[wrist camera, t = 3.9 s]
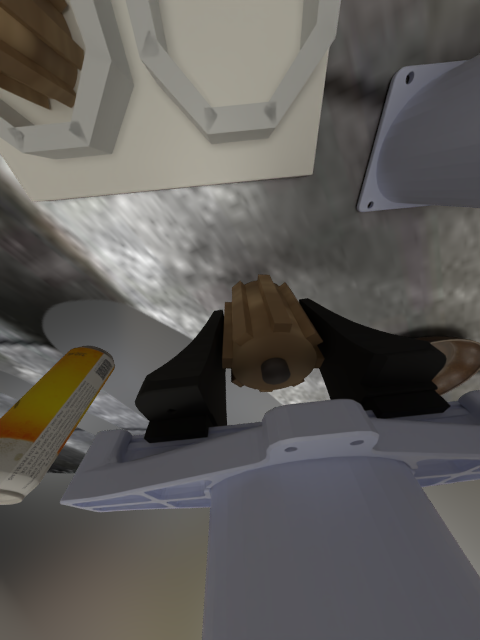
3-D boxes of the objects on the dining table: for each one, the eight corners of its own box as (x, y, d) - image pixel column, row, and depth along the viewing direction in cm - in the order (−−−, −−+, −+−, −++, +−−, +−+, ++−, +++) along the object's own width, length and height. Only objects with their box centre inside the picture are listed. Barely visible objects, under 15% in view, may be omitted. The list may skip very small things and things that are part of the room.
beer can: (61, 348, 25) (-101, 496, 13) (98, 339, 24) (-35, 486, 12) (92, 373, 28) (-10, 508, 16) (126, 366, 28) (45, 500, 15)
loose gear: (300, 274, 12) (352, 336, 7) (284, 332, 16) (312, 403, 10) (225, 272, 12) (221, 334, 7) (224, 331, 15) (222, 405, 10)
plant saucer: (402, 400, 39) (415, 415, 37) (319, 396, 36) (326, 412, 34) (496, 332, 27) (525, 347, 25) (383, 317, 24) (402, 332, 22)
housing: (362, -325, 6) (503, -873, 3) (305, 176, 15) (327, 171, 11) (-230, -254, 6) (-690, -702, 3) (48, 201, 15) (-3, 203, 12)
